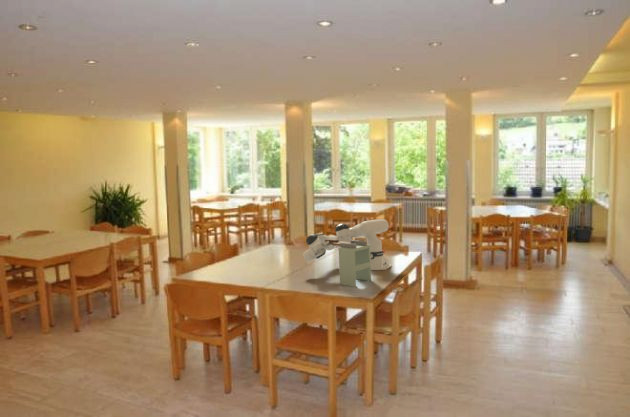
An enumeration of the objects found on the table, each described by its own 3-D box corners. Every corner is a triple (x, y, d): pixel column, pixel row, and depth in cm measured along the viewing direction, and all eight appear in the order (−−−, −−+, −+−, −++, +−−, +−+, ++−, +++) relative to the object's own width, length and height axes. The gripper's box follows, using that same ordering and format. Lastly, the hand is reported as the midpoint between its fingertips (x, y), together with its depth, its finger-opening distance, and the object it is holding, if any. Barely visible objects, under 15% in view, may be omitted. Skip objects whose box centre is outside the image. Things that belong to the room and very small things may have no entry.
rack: (356, 278, 374) (355, 235, 371) (371, 280, 365) (369, 237, 362) (339, 284, 359) (338, 239, 356) (354, 286, 350) (353, 241, 347)
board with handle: (330, 242, 379) (330, 238, 379) (352, 244, 365) (352, 240, 365) (321, 244, 371) (321, 240, 371) (344, 246, 358) (344, 242, 358)
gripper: (329, 250, 387) (341, 242, 379) (311, 255, 372) (324, 247, 363) (326, 243, 389) (338, 235, 380) (308, 247, 373) (320, 239, 365)
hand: (331, 241), depth 372 cm, fingers closed on board with handle, 3 cm apart
